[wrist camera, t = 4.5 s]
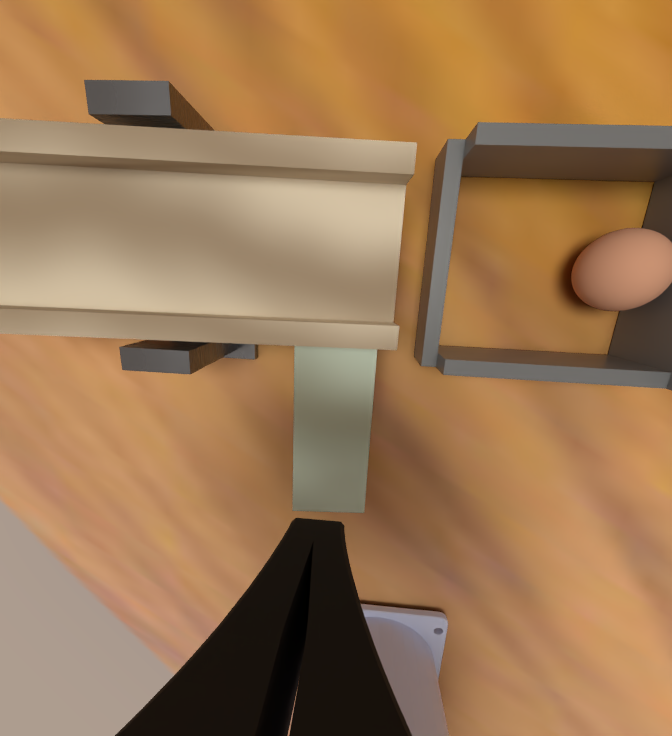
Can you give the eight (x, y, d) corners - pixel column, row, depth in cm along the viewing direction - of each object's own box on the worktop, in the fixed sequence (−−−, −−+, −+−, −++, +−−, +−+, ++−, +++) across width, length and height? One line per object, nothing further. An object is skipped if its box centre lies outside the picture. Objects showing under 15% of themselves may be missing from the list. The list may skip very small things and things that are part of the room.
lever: (373, 497, 14) (381, 541, 12) (9, 486, 14) (-59, 529, 11) (401, 167, 11) (421, 134, 8) (-78, 140, 11) (-199, 98, 8)
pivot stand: (257, 357, 15) (214, 388, 11) (177, 352, 16) (102, 380, 11) (253, 140, 13) (195, 61, 8) (159, 138, 13) (53, 60, 9)
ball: (569, 309, 12) (559, 306, 14) (679, 316, 10) (647, 312, 13) (589, 222, 11) (575, 235, 14) (711, 217, 10) (670, 233, 12)
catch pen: (618, 368, 14) (713, 399, 11) (413, 356, 15) (433, 381, 11) (675, 165, 12) (820, 110, 8) (436, 159, 13) (469, 104, 9)
